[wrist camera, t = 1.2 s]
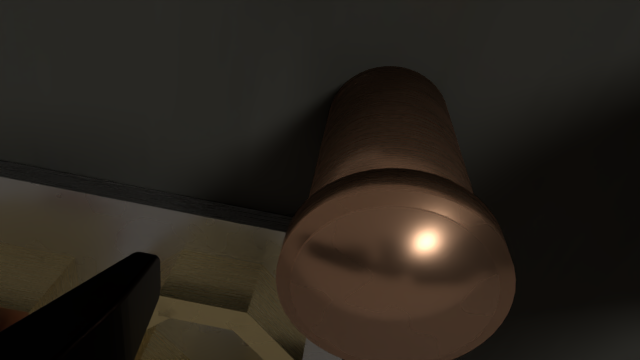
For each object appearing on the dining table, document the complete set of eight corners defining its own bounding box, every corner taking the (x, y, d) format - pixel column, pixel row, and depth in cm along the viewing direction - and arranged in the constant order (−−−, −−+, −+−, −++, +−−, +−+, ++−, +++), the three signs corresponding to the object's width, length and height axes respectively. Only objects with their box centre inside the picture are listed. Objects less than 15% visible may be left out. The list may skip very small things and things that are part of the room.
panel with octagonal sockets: (373, 233, 18) (370, 343, 14) (325, 404, 24) (313, 522, 20) (-59, 148, 19) (-200, 230, 14) (-5, 338, 24) (-93, 440, 20)
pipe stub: (477, 72, 15) (558, 222, 8) (435, 194, 17) (471, 390, 11) (331, 44, 15) (290, 170, 8) (309, 170, 17) (264, 349, 11)
